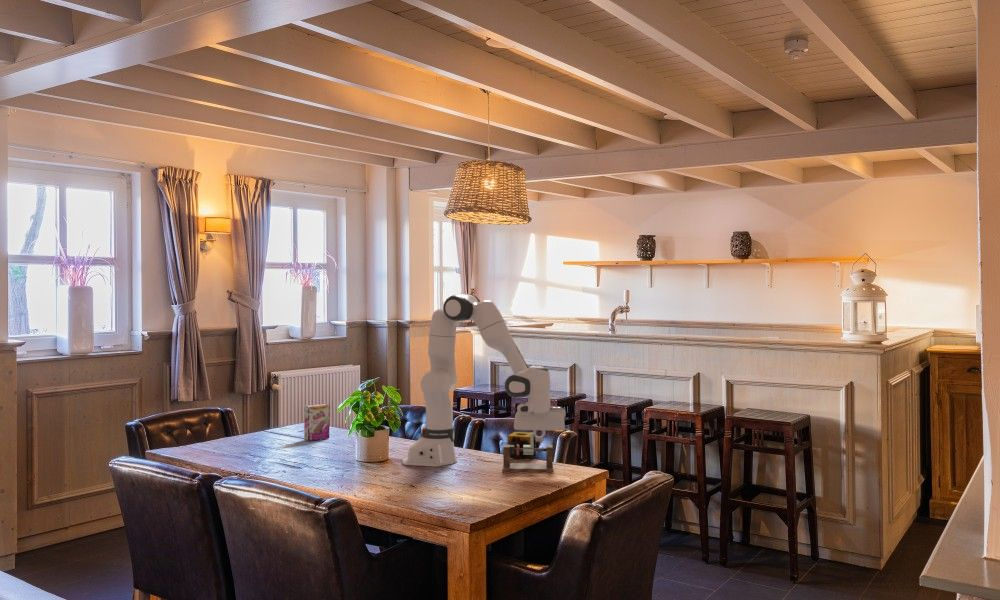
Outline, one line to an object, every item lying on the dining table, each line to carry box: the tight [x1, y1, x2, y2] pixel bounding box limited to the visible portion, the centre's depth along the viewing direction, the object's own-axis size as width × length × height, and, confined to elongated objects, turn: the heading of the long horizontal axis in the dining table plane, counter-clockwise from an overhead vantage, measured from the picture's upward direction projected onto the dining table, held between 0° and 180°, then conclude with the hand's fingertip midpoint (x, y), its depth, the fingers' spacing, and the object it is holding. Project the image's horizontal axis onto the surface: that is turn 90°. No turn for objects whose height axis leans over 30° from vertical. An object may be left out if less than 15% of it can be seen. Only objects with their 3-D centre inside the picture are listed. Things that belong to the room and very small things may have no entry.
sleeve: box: [523, 432, 534, 455], centre depth 317 cm, size 4×3×8 cm
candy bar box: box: [303, 403, 330, 442], centre depth 381 cm, size 11×5×16 cm, turn 130°
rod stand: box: [502, 444, 555, 474], centre depth 317 cm, size 20×10×10 cm, turn 87°
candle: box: [507, 431, 537, 461], centre depth 340 cm, size 10×10×10 cm
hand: (539, 441), depth 317 cm, fingers closed
